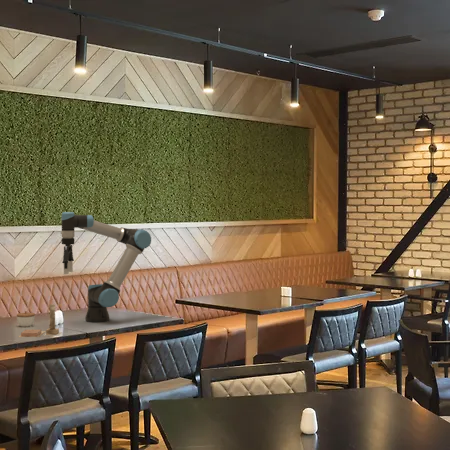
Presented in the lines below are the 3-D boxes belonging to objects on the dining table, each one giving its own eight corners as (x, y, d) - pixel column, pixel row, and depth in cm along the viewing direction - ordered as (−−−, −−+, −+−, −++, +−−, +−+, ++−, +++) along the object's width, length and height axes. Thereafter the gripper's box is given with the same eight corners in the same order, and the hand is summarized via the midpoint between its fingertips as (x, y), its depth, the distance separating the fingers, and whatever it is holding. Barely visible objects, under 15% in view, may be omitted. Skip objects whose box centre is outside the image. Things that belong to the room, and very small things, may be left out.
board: (46, 331, 423) (46, 331, 423) (39, 337, 405) (39, 336, 405) (25, 332, 423) (25, 331, 423) (17, 337, 405) (17, 337, 405)
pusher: (58, 332, 418) (58, 304, 417) (56, 334, 412) (56, 305, 411) (48, 332, 417) (48, 304, 417) (46, 334, 411) (45, 305, 411)
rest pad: (62, 333, 419) (62, 332, 419) (59, 336, 410) (59, 335, 410) (46, 333, 419) (46, 332, 419) (42, 336, 410) (42, 335, 410)
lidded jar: (18, 325, 446) (18, 310, 445) (36, 325, 446) (36, 309, 446) (15, 328, 435) (14, 312, 435) (33, 328, 436) (33, 312, 435)
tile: (41, 329, 417) (37, 333, 406) (41, 332, 418) (37, 336, 407) (25, 329, 417) (20, 333, 406) (25, 333, 417) (20, 336, 406)
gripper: (65, 236, 450) (65, 270, 451) (57, 238, 425) (57, 275, 426) (77, 236, 450) (78, 270, 451) (70, 238, 425) (70, 275, 426)
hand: (68, 273), depth 438 cm, fingers open, 13 cm apart
